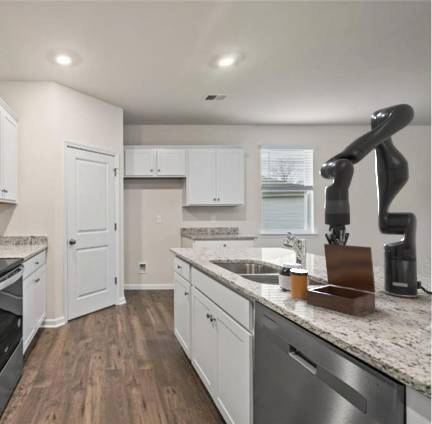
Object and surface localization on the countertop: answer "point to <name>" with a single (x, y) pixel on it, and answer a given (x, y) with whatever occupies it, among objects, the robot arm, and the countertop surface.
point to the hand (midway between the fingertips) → (337, 257)
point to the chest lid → (350, 266)
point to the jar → (299, 283)
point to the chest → (341, 299)
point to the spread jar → (288, 275)
